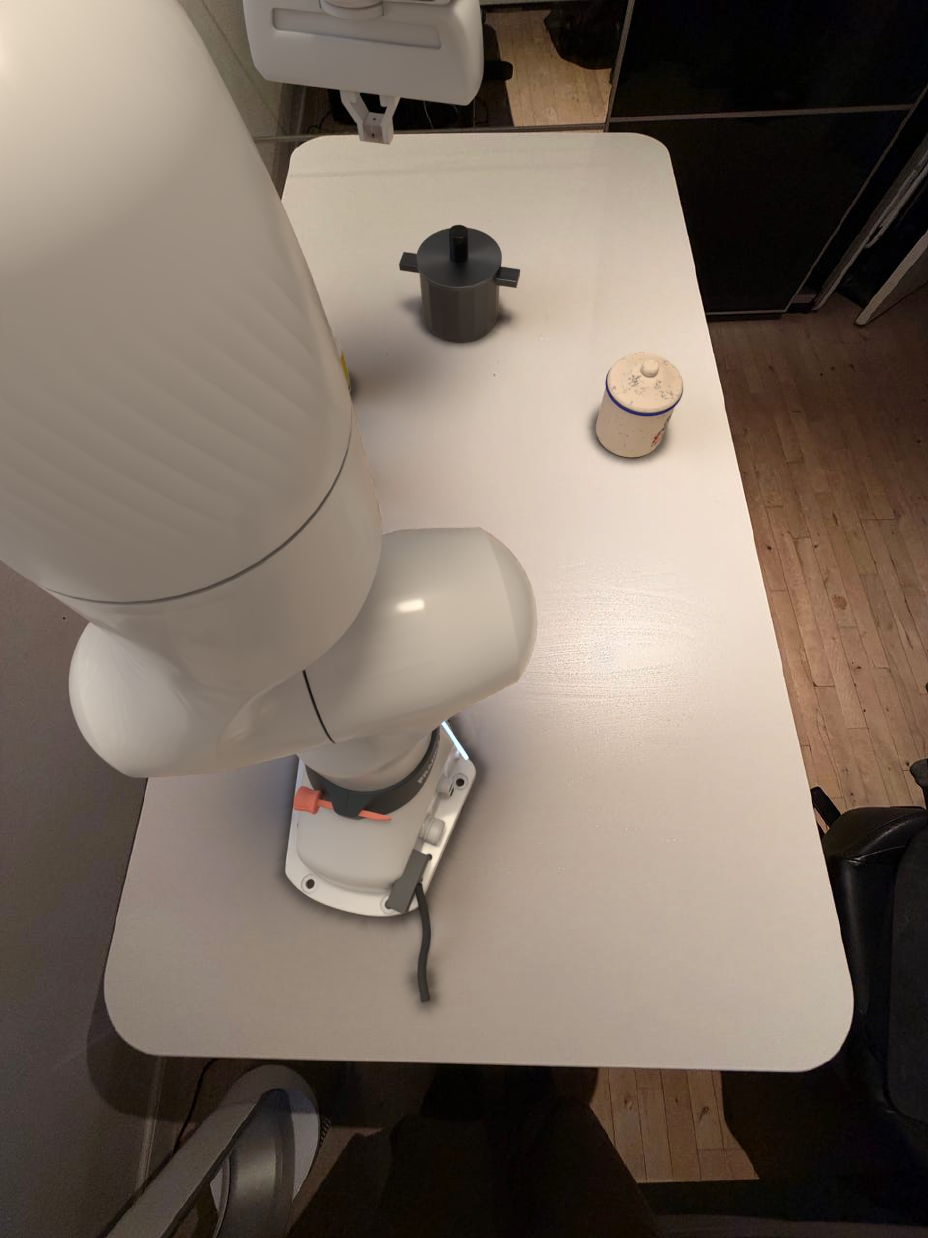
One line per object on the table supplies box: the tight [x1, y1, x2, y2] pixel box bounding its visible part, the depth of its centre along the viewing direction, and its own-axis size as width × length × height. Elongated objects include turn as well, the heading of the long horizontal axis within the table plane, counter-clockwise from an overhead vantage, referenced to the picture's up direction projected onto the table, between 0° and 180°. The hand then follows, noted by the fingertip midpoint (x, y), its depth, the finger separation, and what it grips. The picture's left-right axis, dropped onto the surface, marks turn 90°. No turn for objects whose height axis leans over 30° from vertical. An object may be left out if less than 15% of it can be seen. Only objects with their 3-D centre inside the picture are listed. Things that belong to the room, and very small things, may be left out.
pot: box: [398, 251, 521, 344], centre depth 87 cm, size 11×16×8 cm, turn 77°
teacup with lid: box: [595, 351, 684, 458], centre depth 78 cm, size 12×9×12 cm
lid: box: [416, 224, 503, 291], centre depth 82 cm, size 11×11×5 cm
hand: (377, 139), depth 61 cm, fingers closed
